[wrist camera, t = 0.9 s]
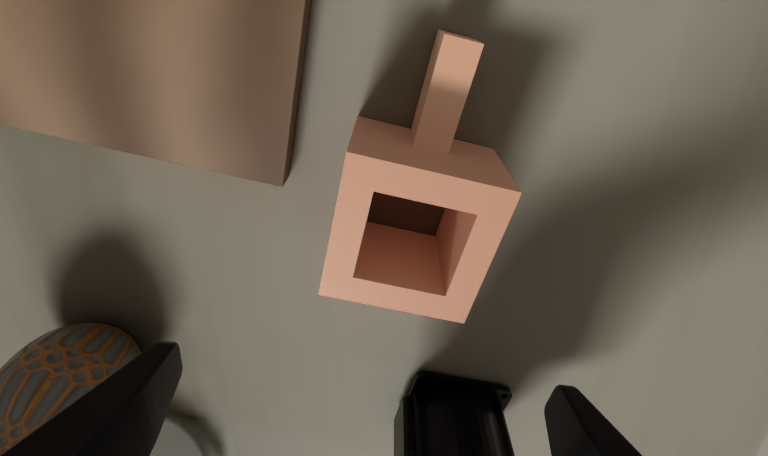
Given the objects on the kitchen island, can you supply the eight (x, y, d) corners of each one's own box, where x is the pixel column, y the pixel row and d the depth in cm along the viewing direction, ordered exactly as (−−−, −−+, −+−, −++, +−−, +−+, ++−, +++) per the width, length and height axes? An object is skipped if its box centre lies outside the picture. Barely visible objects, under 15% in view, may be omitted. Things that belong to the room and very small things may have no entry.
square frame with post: (450, 260, 22) (464, 323, 18) (333, 235, 22) (318, 294, 17) (529, 53, 17) (575, 72, 13) (378, 13, 16) (372, 17, 12)
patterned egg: (53, 366, 27) (-81, 509, 20) (49, 290, 24) (-112, 426, 16) (158, 392, 28) (70, 538, 21) (168, 323, 25) (68, 465, 17)
